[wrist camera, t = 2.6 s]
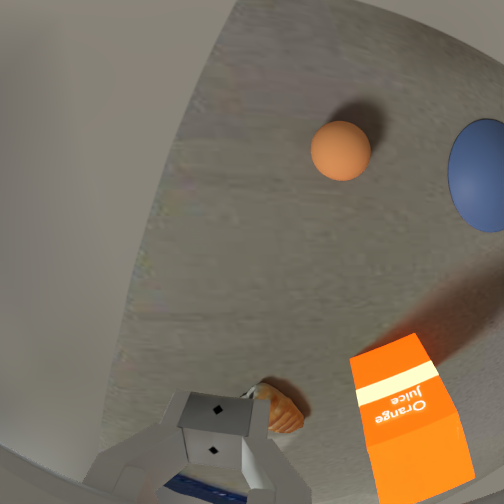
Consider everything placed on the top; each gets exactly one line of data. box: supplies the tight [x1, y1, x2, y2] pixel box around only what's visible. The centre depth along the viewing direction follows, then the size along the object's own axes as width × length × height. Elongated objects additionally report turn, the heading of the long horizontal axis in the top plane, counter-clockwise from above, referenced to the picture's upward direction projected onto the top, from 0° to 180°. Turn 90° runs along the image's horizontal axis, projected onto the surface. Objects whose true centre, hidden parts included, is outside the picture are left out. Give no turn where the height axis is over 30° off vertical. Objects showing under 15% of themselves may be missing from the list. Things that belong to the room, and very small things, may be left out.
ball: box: [311, 121, 371, 181], centre depth 28 cm, size 6×6×6 cm
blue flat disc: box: [448, 119, 504, 232], centre depth 28 cm, size 13×13×1 cm
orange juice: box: [350, 333, 475, 504], centre depth 27 cm, size 8×9×20 cm
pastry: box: [241, 383, 304, 433], centre depth 39 cm, size 9×7×4 cm
